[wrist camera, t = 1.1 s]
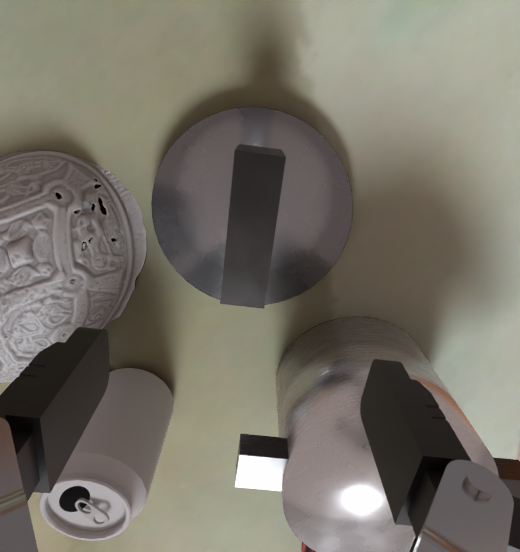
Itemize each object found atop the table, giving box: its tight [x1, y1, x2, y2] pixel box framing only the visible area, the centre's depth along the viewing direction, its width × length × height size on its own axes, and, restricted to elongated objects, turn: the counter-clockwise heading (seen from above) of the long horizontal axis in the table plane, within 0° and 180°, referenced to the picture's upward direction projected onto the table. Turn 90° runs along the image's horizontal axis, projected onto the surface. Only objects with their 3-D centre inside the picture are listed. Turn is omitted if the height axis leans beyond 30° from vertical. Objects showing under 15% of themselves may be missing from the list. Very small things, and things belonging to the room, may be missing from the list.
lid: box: [152, 107, 353, 308], centre depth 27 cm, size 15×15×7 cm
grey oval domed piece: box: [0, 150, 147, 383], centre depth 30 cm, size 16×25×7 cm, turn 142°
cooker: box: [235, 317, 520, 552], centre depth 31 cm, size 14×20×12 cm
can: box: [39, 368, 174, 541], centre depth 31 cm, size 8×8×12 cm
